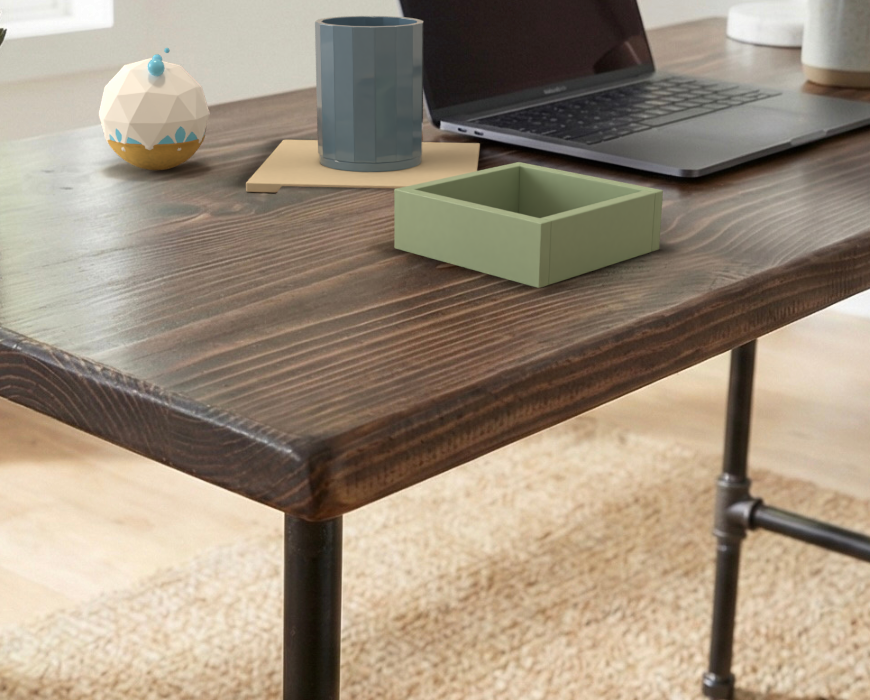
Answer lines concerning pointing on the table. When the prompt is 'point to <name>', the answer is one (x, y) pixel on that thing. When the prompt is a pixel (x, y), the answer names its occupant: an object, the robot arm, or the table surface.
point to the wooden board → (302, 168)
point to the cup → (369, 92)
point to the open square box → (527, 222)
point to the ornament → (154, 114)
